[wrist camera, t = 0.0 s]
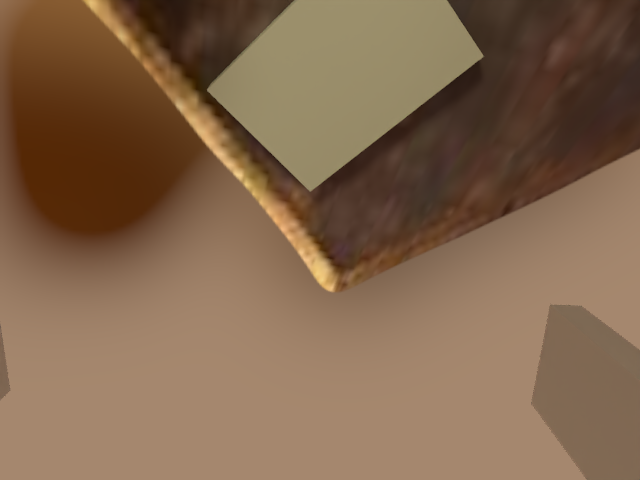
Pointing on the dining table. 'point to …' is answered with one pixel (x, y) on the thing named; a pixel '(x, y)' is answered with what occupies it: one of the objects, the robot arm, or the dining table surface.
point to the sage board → (341, 77)
